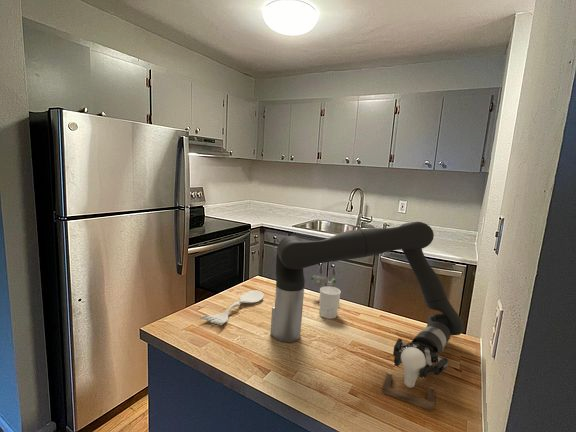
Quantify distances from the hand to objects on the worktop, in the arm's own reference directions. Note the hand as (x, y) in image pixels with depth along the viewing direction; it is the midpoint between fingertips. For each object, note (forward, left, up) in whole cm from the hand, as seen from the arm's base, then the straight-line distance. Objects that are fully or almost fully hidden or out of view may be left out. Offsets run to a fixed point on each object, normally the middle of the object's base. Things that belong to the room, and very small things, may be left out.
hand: (408, 368), depth 79 cm
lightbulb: (+1, +2, -7) cm, 7 cm away
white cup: (-31, +29, -7) cm, 43 cm away
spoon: (-62, +13, -7) cm, 64 cm away
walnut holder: (+1, 0, -7) cm, 7 cm away
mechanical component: (-38, +41, -7) cm, 57 cm away
